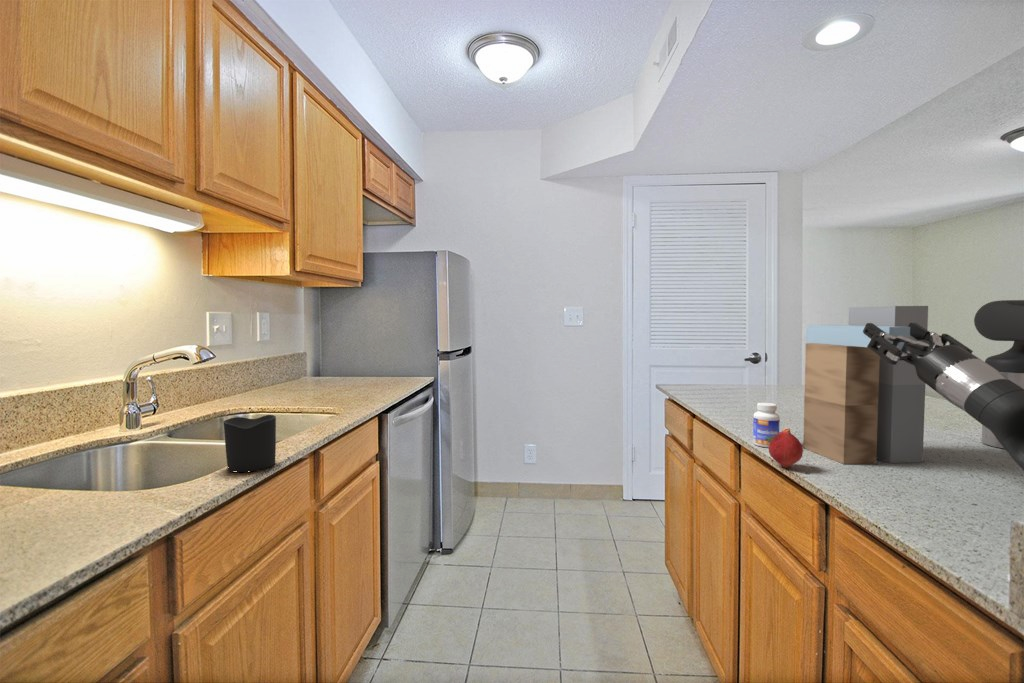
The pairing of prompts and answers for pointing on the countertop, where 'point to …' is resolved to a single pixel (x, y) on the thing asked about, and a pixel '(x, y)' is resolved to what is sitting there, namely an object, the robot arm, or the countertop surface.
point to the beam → (849, 334)
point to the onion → (785, 448)
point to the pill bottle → (765, 424)
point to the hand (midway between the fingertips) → (887, 326)
